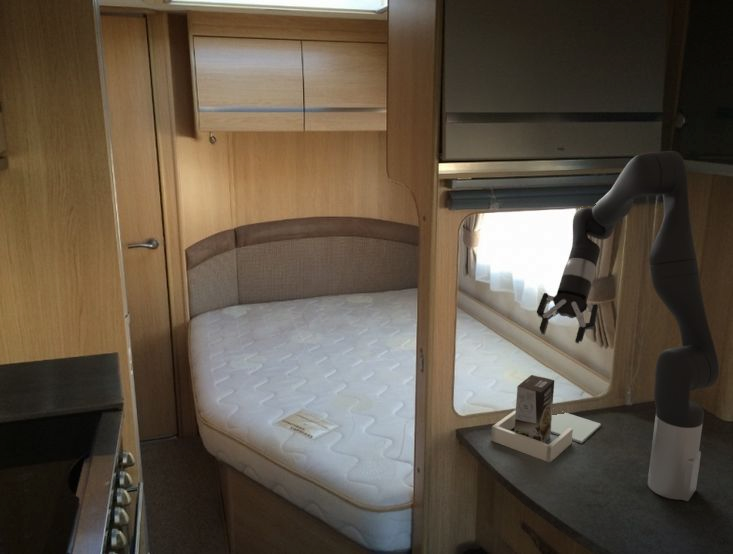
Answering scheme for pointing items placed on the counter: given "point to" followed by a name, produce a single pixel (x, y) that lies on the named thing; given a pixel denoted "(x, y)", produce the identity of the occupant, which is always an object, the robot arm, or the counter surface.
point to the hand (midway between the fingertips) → (559, 338)
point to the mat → (573, 426)
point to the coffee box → (534, 408)
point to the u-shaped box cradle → (529, 440)
